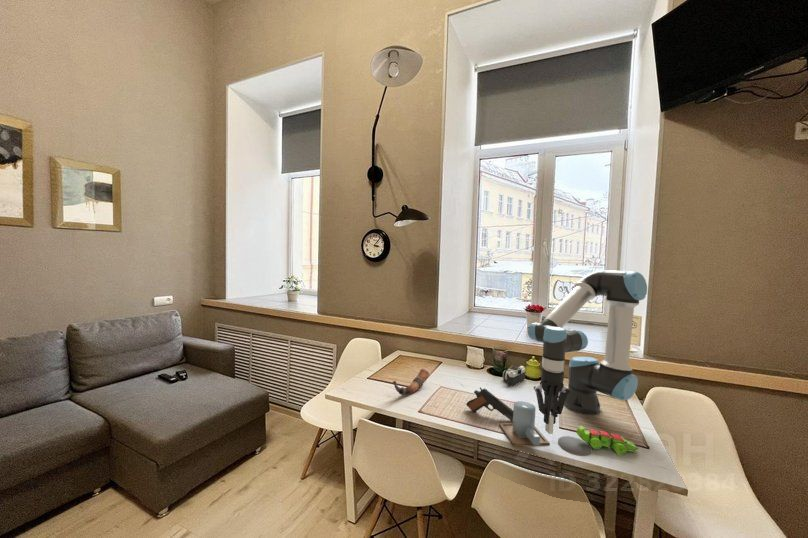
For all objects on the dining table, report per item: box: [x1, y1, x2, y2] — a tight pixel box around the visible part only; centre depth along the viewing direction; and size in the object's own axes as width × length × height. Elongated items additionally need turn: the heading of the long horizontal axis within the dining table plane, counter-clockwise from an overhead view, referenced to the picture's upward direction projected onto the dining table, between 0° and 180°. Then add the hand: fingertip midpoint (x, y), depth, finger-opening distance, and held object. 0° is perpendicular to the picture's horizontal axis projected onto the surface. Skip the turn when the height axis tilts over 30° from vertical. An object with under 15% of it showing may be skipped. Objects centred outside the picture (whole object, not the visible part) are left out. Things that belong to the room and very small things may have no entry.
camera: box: [502, 365, 526, 387], centre depth 177 cm, size 16×9×10 cm, turn 134°
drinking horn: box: [392, 368, 430, 396], centre depth 159 cm, size 5×29×10 cm, turn 144°
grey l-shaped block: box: [512, 400, 541, 446], centre depth 121 cm, size 15×8×11 cm, turn 4°
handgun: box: [465, 387, 513, 422], centre depth 138 cm, size 2×19×12 cm, turn 62°
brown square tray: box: [498, 422, 550, 447], centre depth 124 cm, size 14×14×1 cm
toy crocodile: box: [576, 425, 639, 456], centre depth 117 cm, size 20×7×6 cm, turn 75°
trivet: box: [557, 435, 593, 456], centre depth 117 cm, size 11×11×1 cm
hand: (548, 431), depth 118 cm, fingers closed
